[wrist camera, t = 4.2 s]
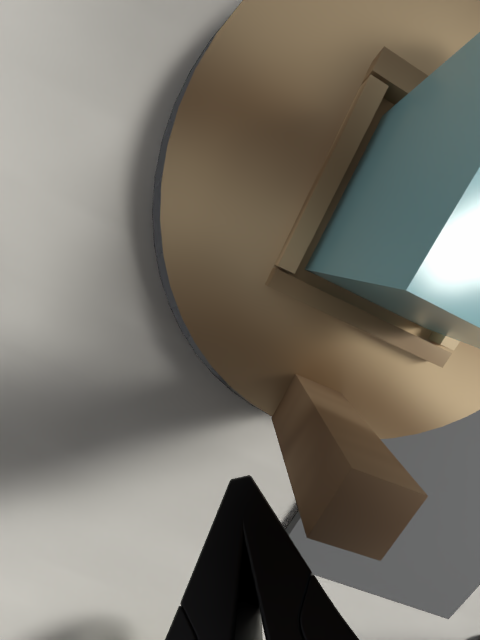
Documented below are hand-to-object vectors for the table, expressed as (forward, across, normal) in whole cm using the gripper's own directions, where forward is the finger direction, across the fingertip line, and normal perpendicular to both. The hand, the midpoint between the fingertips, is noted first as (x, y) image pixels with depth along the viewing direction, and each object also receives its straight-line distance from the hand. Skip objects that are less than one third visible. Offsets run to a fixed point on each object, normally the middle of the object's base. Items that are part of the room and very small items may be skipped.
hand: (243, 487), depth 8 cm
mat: (+4, -8, +8) cm, 12 cm away
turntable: (+4, -7, -6) cm, 10 cm away
